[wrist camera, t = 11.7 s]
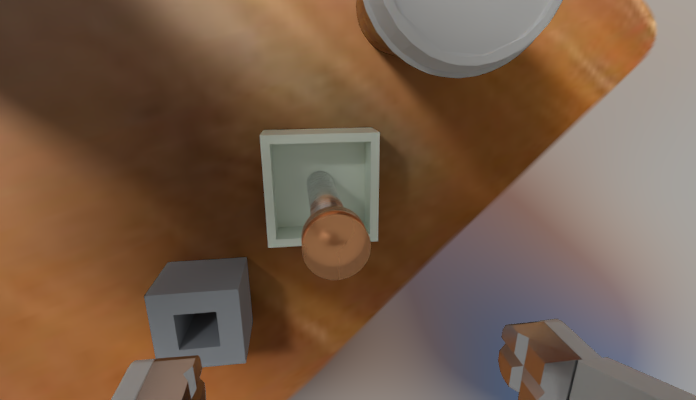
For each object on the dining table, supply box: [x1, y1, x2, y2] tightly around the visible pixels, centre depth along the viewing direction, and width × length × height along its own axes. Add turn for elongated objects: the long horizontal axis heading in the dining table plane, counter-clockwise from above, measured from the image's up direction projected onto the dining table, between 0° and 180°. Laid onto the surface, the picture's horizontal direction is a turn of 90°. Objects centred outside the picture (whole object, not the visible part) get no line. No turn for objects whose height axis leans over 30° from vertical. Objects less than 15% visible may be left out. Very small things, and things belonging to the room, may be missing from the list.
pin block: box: [144, 257, 253, 367], centre depth 29 cm, size 6×6×5 cm
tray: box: [260, 127, 380, 248], centre depth 28 cm, size 8×8×3 cm
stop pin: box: [301, 171, 371, 280], centre depth 23 cm, size 3×3×12 cm
